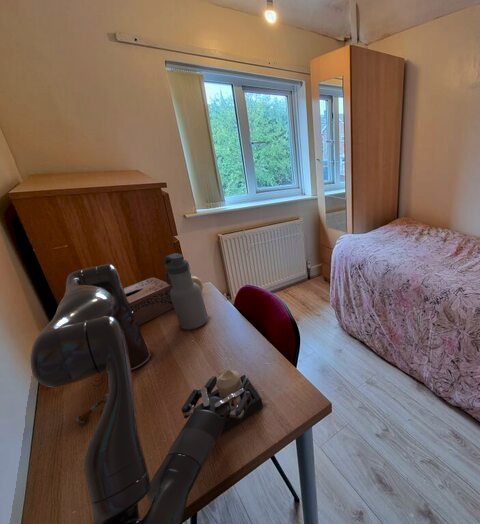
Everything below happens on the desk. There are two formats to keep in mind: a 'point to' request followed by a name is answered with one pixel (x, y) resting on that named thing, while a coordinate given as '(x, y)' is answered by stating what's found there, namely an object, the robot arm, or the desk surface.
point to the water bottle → (185, 293)
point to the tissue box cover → (149, 299)
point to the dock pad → (253, 407)
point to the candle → (228, 384)
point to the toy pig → (197, 282)
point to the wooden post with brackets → (93, 408)
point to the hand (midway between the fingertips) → (231, 379)
